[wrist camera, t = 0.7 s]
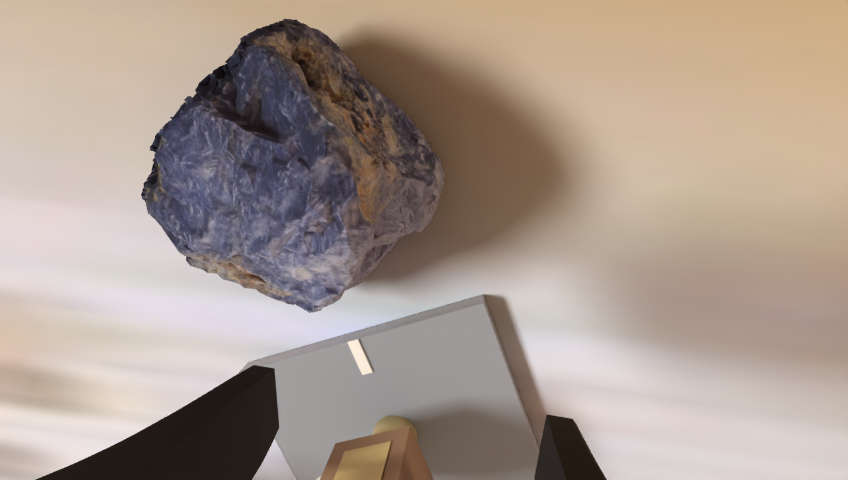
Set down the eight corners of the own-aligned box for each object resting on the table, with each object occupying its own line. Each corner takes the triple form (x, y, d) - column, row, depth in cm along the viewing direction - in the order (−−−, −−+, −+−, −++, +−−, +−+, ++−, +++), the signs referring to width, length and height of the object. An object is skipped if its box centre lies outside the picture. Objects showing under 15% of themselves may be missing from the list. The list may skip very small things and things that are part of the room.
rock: (254, -41, 16) (176, 73, 9) (453, 113, 21) (502, 260, 14) (154, 157, 21) (54, 328, 14) (335, 241, 27) (328, 395, 19)
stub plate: (332, 521, 27) (315, 569, 24) (248, 362, 24) (217, 395, 22) (550, 480, 24) (560, 530, 21) (483, 294, 22) (484, 322, 19)
